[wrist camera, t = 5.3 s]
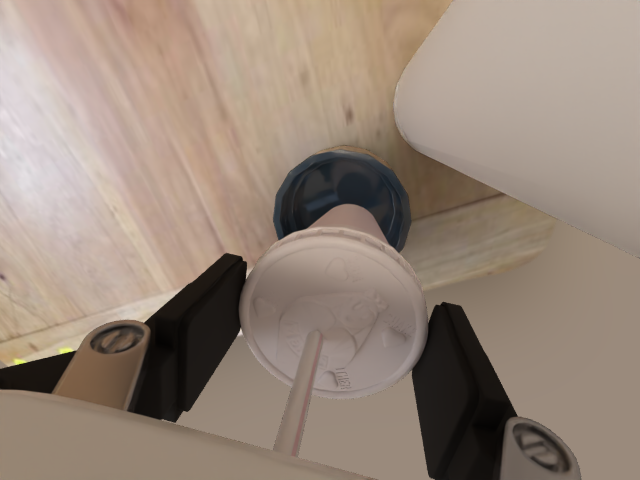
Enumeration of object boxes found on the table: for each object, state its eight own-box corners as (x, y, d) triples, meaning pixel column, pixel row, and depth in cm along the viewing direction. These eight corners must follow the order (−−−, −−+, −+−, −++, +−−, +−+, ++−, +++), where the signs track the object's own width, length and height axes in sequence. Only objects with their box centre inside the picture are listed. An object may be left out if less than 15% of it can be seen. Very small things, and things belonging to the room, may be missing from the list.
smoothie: (277, 222, 20) (95, 410, 7) (359, 158, 18) (328, 248, 5) (339, 296, 21) (286, 580, 8) (423, 244, 19) (543, 514, 6)
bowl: (415, 157, 24) (428, 165, 19) (386, 265, 27) (390, 294, 23) (297, 135, 25) (282, 138, 20) (283, 243, 28) (266, 267, 23)
